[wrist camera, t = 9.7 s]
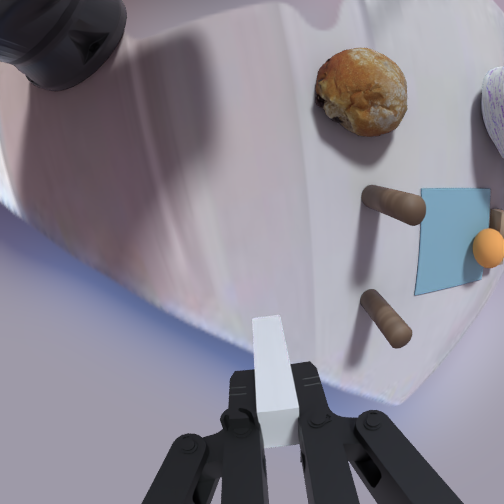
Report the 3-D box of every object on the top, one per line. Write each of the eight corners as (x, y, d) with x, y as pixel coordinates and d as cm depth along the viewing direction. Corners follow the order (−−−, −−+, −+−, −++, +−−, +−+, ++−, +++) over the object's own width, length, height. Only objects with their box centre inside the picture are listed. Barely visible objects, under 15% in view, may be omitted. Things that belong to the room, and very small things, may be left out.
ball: (468, 224, 30) (486, 236, 26) (495, 223, 29) (514, 234, 24) (464, 260, 32) (480, 276, 27) (491, 257, 31) (508, 272, 26)
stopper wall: (490, 208, 29) (501, 212, 27) (497, 208, 29) (508, 211, 27) (485, 260, 32) (495, 265, 29) (492, 258, 32) (502, 264, 29)
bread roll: (375, 139, 30) (429, 137, 23) (312, 138, 26) (372, 130, 19) (363, 66, 27) (413, 53, 20) (298, 52, 23) (351, 25, 16)
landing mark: (421, 188, 29) (421, 188, 28) (489, 188, 28) (490, 188, 28) (414, 294, 33) (415, 295, 33) (480, 278, 33) (481, 279, 32)
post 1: (361, 185, 29) (402, 195, 20) (381, 184, 28) (426, 194, 20) (361, 208, 29) (402, 226, 21) (382, 207, 29) (425, 224, 21)
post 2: (360, 290, 32) (392, 329, 24) (379, 287, 32) (414, 324, 24) (359, 309, 33) (388, 350, 25) (377, 305, 33) (409, 345, 24)
